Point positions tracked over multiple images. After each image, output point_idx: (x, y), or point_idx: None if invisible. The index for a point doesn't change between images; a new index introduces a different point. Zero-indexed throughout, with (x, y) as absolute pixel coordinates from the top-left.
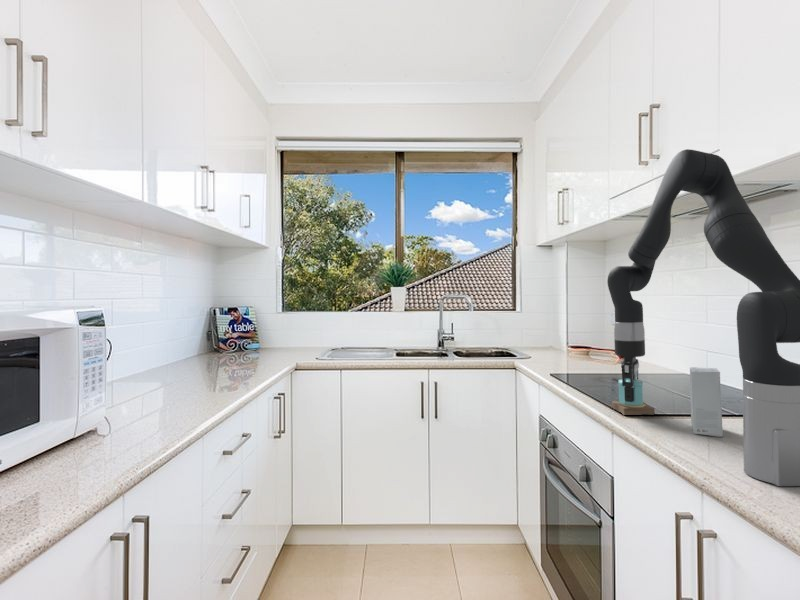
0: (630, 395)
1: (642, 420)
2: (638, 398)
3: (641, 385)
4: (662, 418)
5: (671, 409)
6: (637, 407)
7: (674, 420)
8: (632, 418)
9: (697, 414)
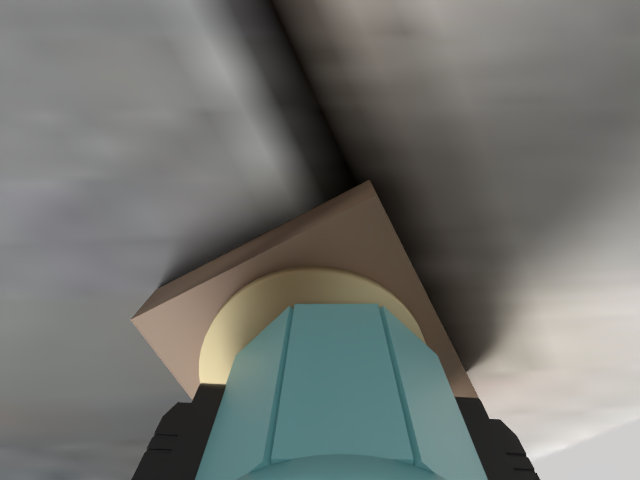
0: (530, 472)
1: (561, 257)
2: (428, 374)
3: (419, 475)
4: (443, 115)
5: (45, 40)
6: (419, 329)
7: (482, 10)
8: (520, 321)
9: None
